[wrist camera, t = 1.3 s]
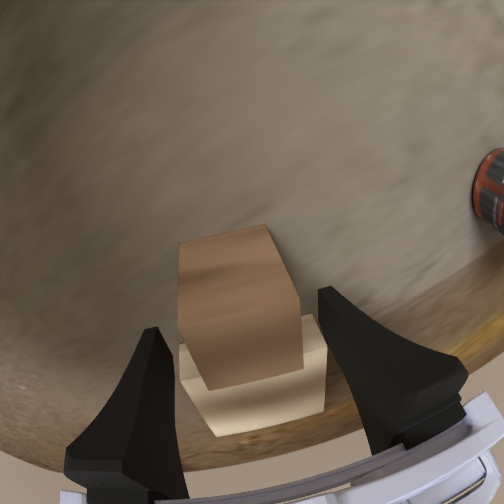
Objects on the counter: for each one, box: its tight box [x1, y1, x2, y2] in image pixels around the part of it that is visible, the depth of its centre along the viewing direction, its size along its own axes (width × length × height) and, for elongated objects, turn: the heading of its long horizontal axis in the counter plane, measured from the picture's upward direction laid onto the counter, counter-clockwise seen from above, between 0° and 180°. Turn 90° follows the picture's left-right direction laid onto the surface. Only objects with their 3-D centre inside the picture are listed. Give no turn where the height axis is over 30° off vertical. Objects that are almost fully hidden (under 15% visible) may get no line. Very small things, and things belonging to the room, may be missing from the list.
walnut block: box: [177, 224, 304, 391], centre depth 15 cm, size 4×4×6 cm
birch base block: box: [179, 314, 327, 437], centre depth 21 cm, size 9×9×3 cm
